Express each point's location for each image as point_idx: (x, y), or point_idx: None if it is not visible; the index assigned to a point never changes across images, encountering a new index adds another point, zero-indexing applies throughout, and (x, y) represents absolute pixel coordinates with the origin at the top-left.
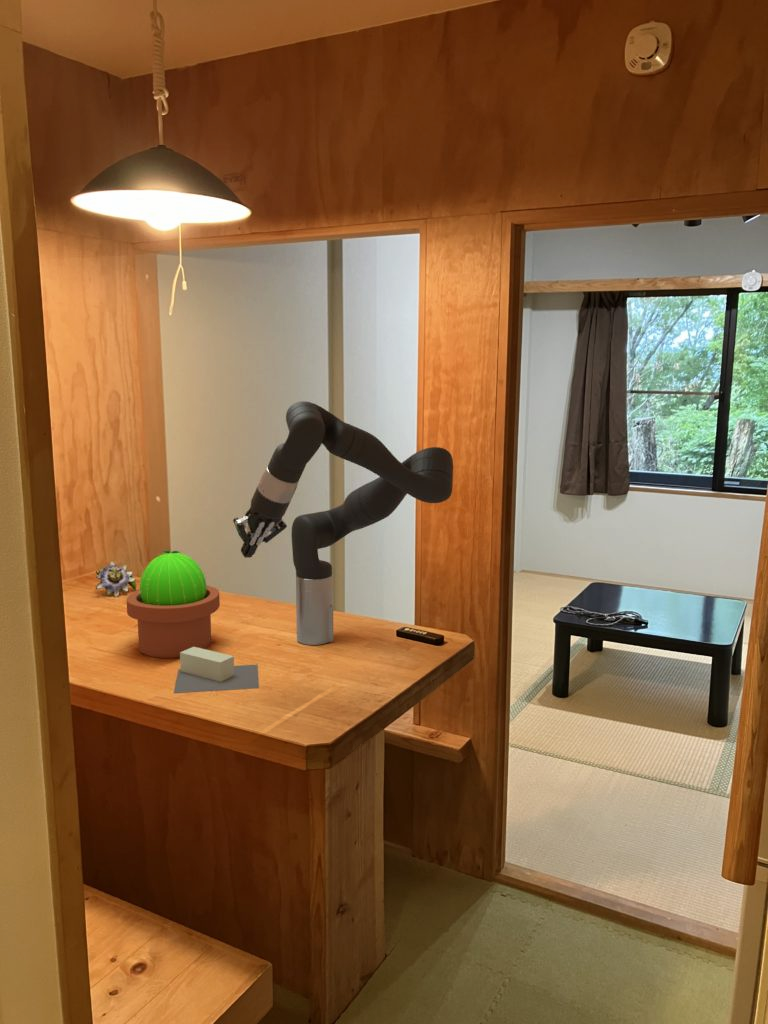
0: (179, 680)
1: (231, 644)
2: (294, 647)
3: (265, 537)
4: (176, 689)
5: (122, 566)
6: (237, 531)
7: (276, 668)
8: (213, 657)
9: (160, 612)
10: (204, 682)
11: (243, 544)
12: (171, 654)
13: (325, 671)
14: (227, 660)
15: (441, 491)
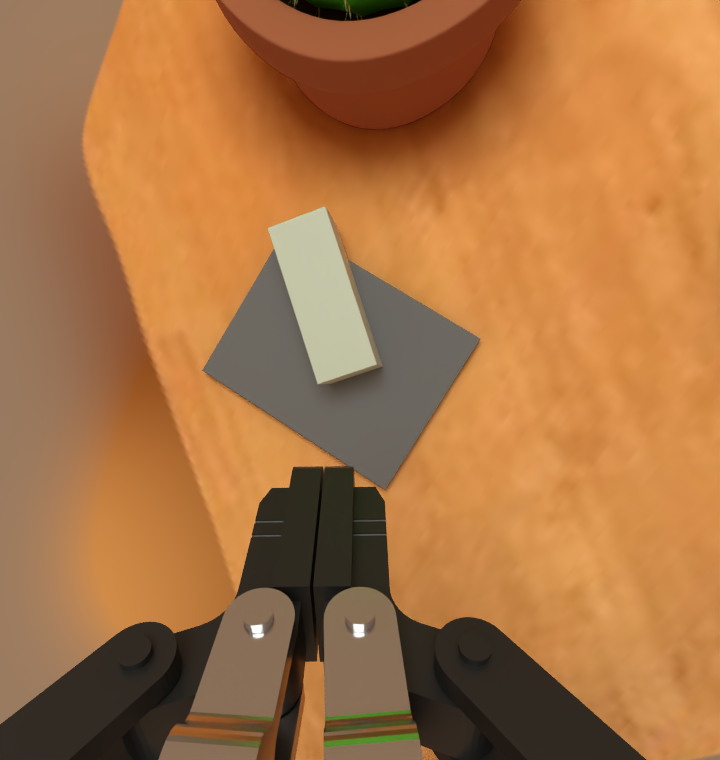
0: (252, 302)
1: (531, 107)
2: (680, 258)
3: (448, 752)
4: (218, 353)
5: None
6: (33, 700)
7: (523, 374)
8: (323, 332)
9: (239, 27)
10: (294, 358)
11: (247, 558)
12: (323, 109)
13: (625, 492)
14: (349, 373)
15: None
